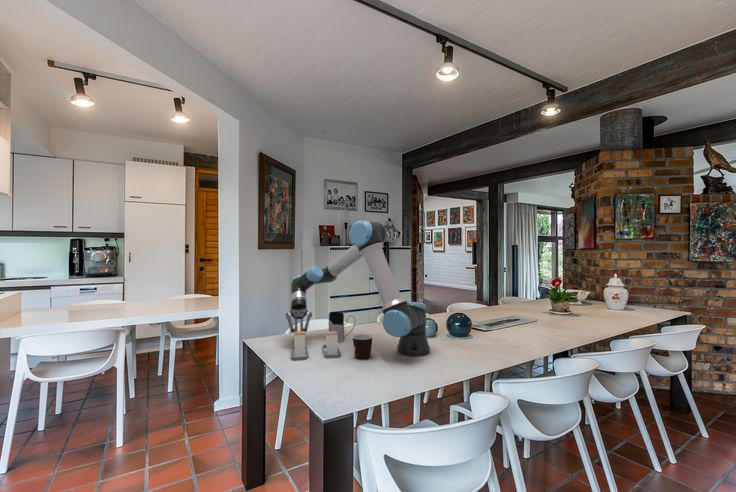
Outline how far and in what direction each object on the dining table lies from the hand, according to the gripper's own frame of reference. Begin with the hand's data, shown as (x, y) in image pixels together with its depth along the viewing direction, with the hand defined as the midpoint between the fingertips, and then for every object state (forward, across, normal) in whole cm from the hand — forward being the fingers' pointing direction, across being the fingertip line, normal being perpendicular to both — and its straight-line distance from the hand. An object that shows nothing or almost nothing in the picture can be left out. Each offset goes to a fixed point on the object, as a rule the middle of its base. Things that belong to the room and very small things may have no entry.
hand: (298, 344), depth 158 cm
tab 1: (+5, 0, 0) cm, 5 cm away
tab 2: (+7, -14, +2) cm, 16 cm away
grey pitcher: (-7, -21, -14) cm, 27 cm away
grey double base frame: (+6, -7, -1) cm, 9 cm away
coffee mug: (+12, -28, +5) cm, 30 cm away
